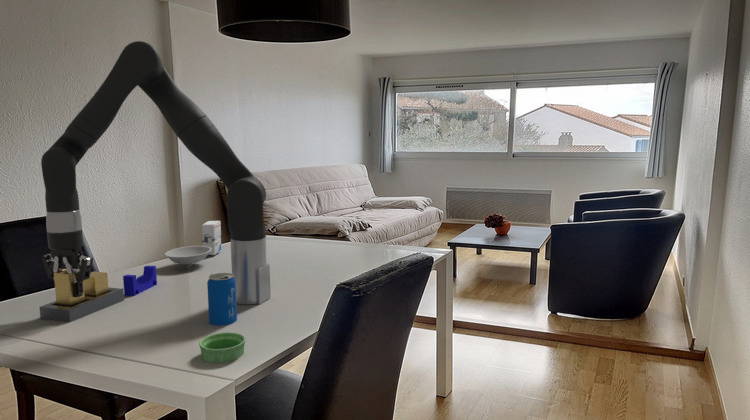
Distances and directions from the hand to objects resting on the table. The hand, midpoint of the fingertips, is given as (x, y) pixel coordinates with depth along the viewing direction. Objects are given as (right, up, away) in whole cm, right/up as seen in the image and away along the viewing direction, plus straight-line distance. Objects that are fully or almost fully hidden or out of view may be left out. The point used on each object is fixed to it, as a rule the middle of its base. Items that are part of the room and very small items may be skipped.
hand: (70, 295), depth 133 cm
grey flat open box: (+1, -5, +4) cm, 7 cm away
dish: (+12, +2, +51) cm, 52 cm away
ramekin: (+46, -10, -25) cm, 53 cm away
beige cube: (+2, -4, +8) cm, 9 cm away
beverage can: (+40, -6, -5) cm, 41 cm away
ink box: (+14, +5, +70) cm, 71 cm away
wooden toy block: (0, -2, 0) cm, 2 cm away
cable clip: (+7, -2, +22) cm, 24 cm away
